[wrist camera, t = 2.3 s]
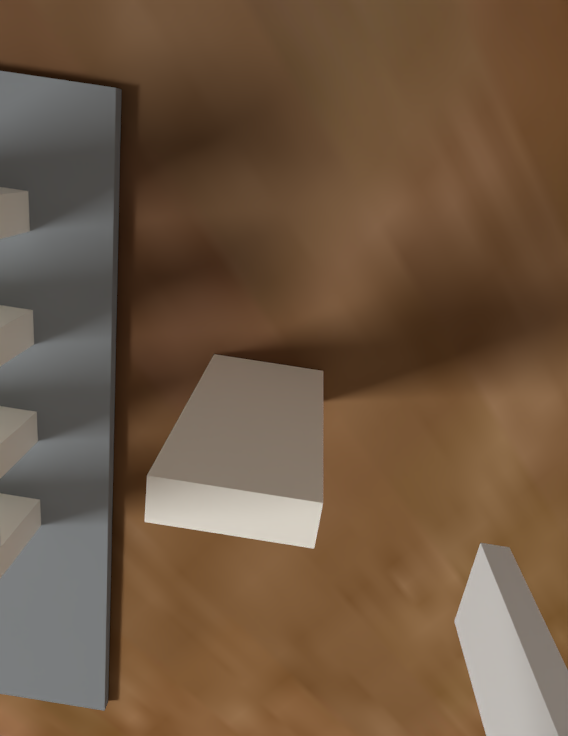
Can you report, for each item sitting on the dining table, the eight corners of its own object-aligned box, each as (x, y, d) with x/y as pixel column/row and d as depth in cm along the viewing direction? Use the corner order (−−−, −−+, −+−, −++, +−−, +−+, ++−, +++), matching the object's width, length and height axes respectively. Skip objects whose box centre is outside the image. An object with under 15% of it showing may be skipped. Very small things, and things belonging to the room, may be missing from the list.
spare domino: (214, 354, 24) (146, 475, 15) (323, 370, 24) (322, 502, 15) (211, 386, 25) (144, 521, 16) (317, 402, 25) (313, 548, 16)
